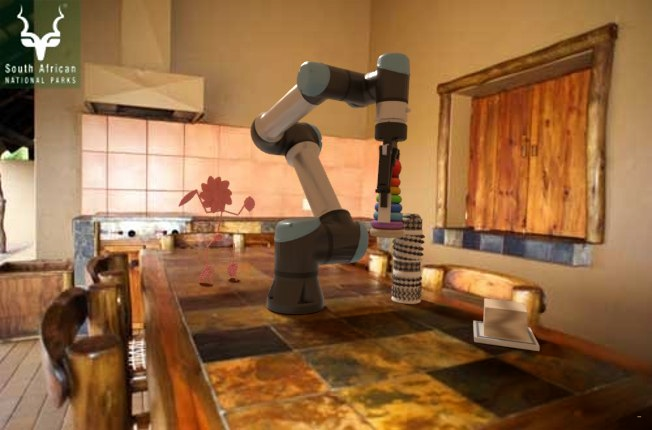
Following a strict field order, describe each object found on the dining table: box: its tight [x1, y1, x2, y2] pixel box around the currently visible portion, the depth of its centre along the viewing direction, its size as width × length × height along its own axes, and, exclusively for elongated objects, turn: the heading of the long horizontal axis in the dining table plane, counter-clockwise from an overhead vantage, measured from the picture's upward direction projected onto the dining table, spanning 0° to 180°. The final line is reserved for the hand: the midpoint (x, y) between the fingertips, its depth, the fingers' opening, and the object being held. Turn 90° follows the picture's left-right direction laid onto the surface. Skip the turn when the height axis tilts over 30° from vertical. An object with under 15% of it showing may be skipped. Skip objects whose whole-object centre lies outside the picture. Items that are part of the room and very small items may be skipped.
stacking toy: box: [369, 159, 404, 239], centre depth 93 cm, size 8×8×19 cm
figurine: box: [178, 175, 256, 285], centre depth 133 cm, size 15×26×35 cm, turn 135°
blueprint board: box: [472, 320, 540, 352], centre depth 85 cm, size 12×12×1 cm
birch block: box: [482, 297, 529, 341], centre depth 85 cm, size 8×8×6 cm
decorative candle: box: [390, 212, 426, 305], centre depth 113 cm, size 9×9×25 cm
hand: (387, 221), depth 93 cm, fingers closed on stacking toy, 7 cm apart
